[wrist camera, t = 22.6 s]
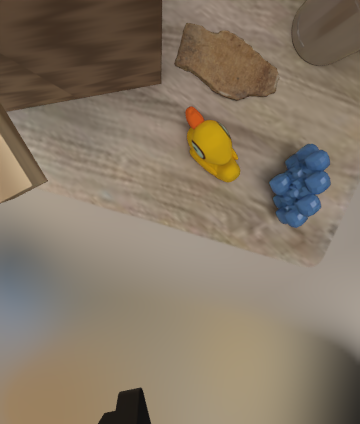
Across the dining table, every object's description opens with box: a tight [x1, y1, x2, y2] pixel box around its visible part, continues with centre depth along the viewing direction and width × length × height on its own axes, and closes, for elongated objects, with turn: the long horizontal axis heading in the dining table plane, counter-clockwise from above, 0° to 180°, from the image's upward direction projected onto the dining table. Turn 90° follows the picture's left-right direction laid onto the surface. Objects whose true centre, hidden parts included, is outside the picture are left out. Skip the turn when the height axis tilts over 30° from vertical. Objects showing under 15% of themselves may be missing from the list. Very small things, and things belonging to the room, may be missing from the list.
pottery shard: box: [175, 23, 279, 100], centre depth 44 cm, size 8×16×2 cm, turn 58°
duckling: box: [186, 107, 240, 182], centre depth 41 cm, size 11×5×10 cm, turn 37°
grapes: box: [269, 144, 331, 228], centre depth 42 cm, size 12×7×12 cm, turn 170°
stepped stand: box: [0, 0, 162, 112], centre depth 27 cm, size 24×11×32 cm, turn 100°
